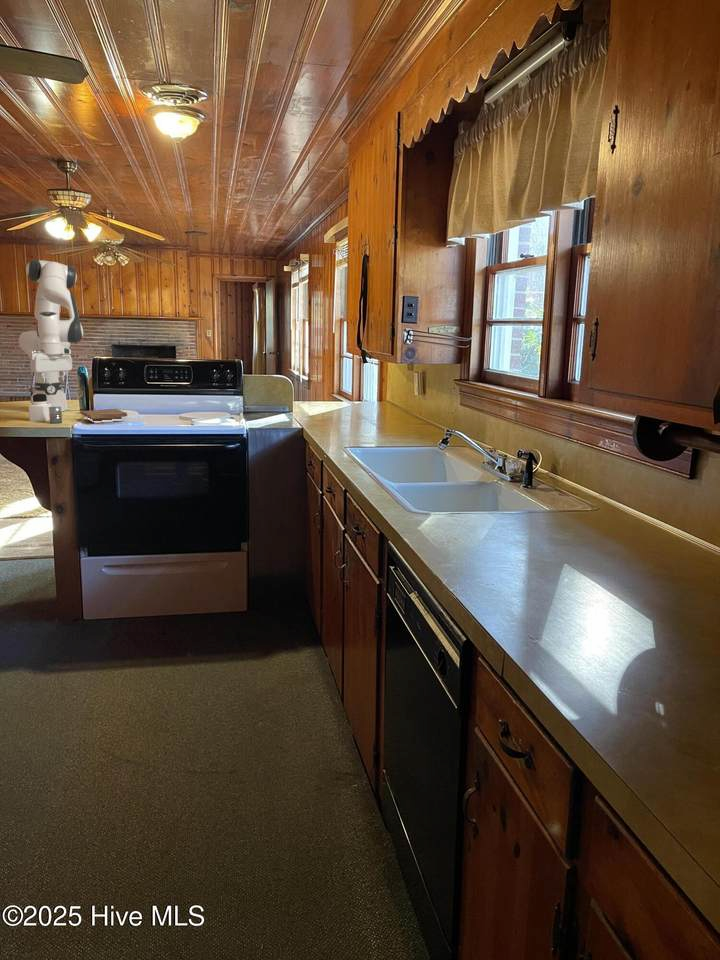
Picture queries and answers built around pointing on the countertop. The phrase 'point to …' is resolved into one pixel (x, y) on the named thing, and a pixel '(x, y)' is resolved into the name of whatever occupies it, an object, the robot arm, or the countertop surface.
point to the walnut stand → (104, 414)
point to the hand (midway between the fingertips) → (52, 382)
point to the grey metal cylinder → (55, 415)
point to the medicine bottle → (39, 408)
